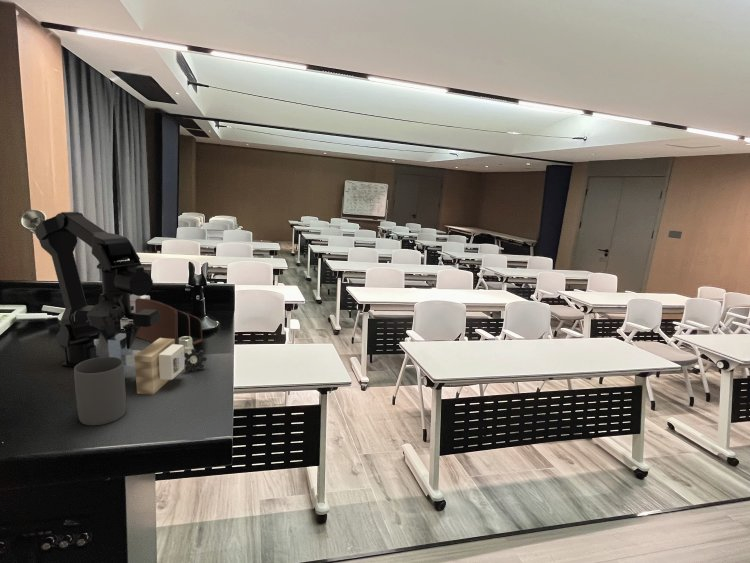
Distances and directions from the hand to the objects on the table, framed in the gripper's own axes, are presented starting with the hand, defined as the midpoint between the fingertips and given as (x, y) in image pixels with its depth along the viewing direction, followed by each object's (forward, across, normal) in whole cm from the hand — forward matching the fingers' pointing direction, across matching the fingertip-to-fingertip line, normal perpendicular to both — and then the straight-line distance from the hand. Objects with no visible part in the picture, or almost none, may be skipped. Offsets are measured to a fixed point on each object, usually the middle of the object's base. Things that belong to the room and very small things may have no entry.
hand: (120, 348), depth 109 cm
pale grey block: (+6, +7, 0) cm, 9 cm away
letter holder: (+9, -2, +30) cm, 31 cm away
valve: (+9, +12, +13) cm, 20 cm away
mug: (+9, +3, -15) cm, 18 cm away
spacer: (+6, +13, 0) cm, 14 cm away
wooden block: (+9, +9, 0) cm, 13 cm away
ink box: (+9, -17, +37) cm, 42 cm away
